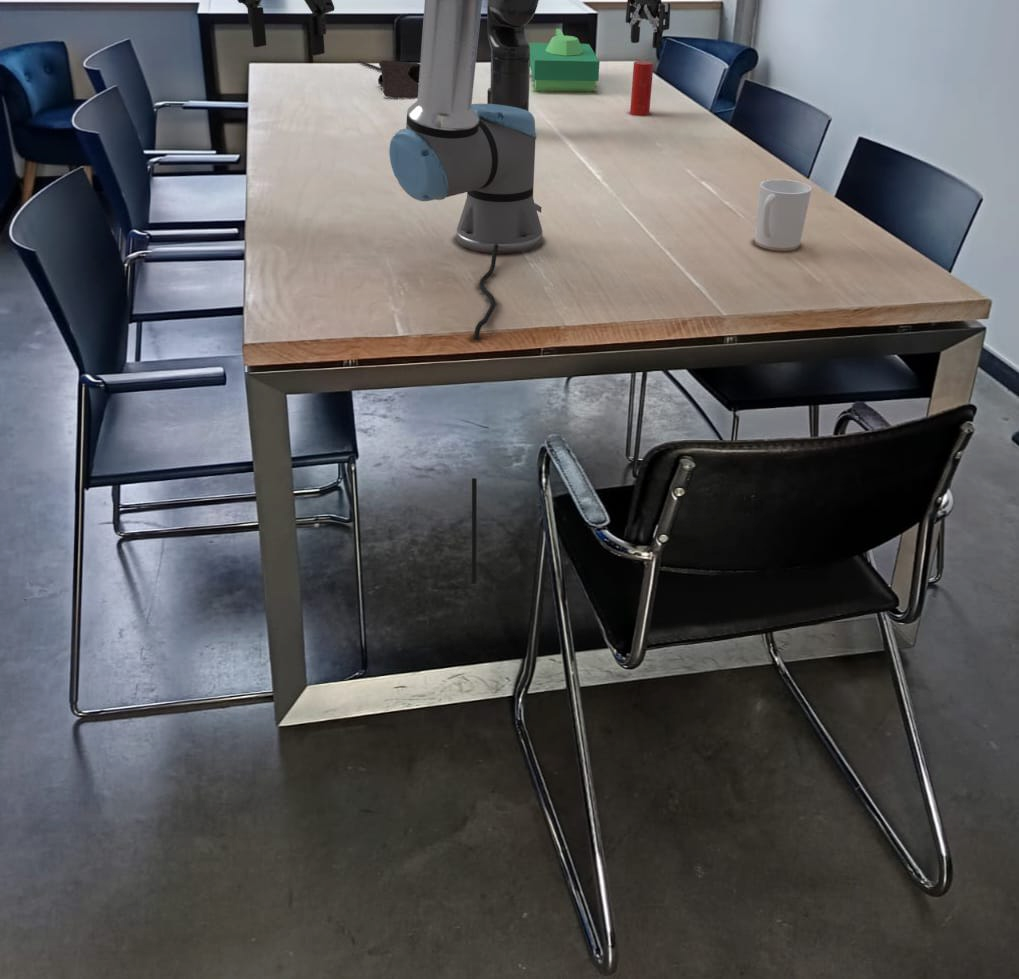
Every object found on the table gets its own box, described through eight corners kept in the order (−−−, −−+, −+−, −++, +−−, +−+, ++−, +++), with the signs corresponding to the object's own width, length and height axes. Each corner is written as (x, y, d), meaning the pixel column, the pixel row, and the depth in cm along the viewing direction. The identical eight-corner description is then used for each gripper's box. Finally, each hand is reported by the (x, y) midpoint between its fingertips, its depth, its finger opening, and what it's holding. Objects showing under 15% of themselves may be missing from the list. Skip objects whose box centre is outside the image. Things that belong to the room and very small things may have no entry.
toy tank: (586, 25, 325) (600, 46, 295) (584, 69, 332) (597, 94, 302) (527, 24, 324) (535, 45, 294) (526, 68, 331) (533, 93, 301)
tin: (645, 111, 286) (649, 60, 279) (651, 115, 282) (656, 64, 275) (627, 111, 285) (631, 60, 278) (633, 116, 281) (637, 64, 274)
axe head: (443, 87, 294) (392, 77, 287) (436, 115, 299) (385, 106, 292) (421, 62, 307) (371, 52, 300) (414, 89, 311) (365, 80, 304)
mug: (766, 232, 202) (774, 176, 197) (810, 242, 198) (820, 186, 192) (737, 246, 195) (744, 189, 190) (782, 258, 190) (791, 199, 185)
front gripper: (349, -78, 186) (356, 54, 197) (237, -86, 197) (250, 40, 208) (322, -75, 181) (330, 60, 192) (208, -84, 191) (222, 45, 202)
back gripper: (681, -24, 263) (675, 48, 271) (644, -30, 273) (639, 39, 281) (657, -22, 259) (652, 51, 268) (620, -28, 269) (616, 42, 278)
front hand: (288, 50), depth 200 cm, fingers open, 13 cm apart
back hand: (645, 45), depth 275 cm, fingers open, 8 cm apart
